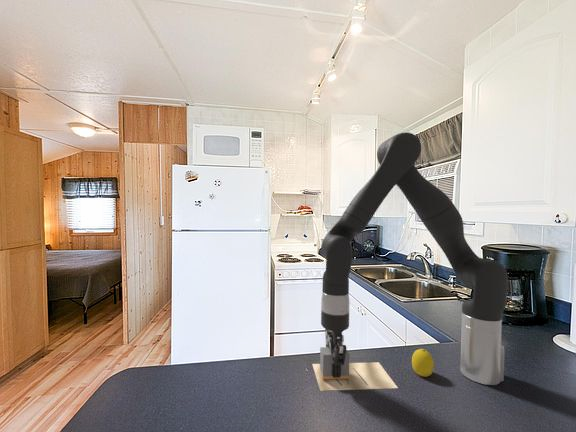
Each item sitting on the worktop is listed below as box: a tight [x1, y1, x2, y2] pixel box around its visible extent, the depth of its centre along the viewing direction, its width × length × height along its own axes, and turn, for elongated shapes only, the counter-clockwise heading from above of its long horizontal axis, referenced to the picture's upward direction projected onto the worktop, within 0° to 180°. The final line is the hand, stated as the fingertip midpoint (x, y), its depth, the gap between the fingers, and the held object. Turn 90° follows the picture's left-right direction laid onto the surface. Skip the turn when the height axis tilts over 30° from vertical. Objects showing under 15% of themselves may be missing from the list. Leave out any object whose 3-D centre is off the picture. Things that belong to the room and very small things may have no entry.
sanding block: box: [319, 346, 350, 379], centre depth 74 cm, size 7×4×6 cm, turn 95°
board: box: [312, 361, 399, 392], centre depth 75 cm, size 20×12×1 cm, turn 95°
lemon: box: [411, 348, 435, 378], centre depth 76 cm, size 6×6×8 cm
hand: (334, 371), depth 74 cm, fingers closed on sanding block, 4 cm apart
